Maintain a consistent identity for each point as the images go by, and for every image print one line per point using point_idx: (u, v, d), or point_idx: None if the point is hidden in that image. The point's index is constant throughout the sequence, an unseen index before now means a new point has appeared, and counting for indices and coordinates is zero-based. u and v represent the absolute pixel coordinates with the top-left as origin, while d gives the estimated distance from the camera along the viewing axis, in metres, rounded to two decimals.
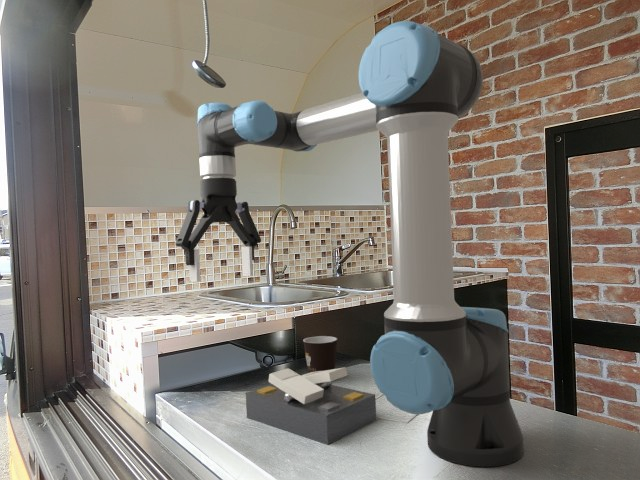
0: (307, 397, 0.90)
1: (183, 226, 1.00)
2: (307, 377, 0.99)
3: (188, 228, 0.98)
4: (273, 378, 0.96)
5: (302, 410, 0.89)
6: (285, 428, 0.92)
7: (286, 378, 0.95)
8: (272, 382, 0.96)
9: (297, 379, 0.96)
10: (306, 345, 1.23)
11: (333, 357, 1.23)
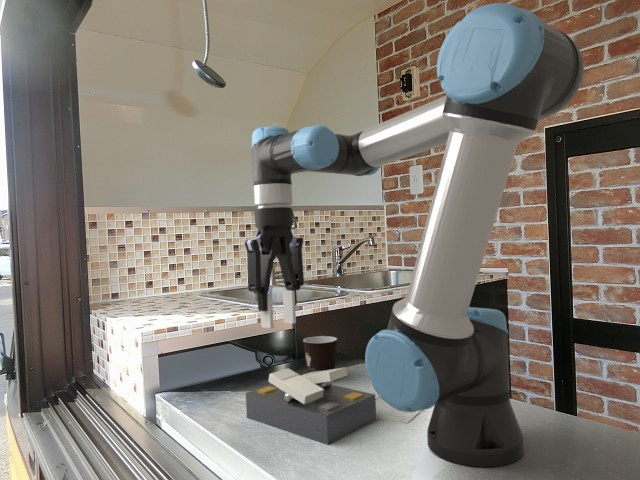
0: (307, 397, 0.90)
1: (249, 269, 0.94)
2: (307, 377, 0.99)
3: (256, 272, 0.93)
4: (273, 378, 0.96)
5: (302, 410, 0.89)
6: (285, 428, 0.92)
7: (286, 378, 0.95)
8: (272, 382, 0.96)
9: (297, 379, 0.96)
10: (306, 345, 1.23)
11: (333, 357, 1.23)
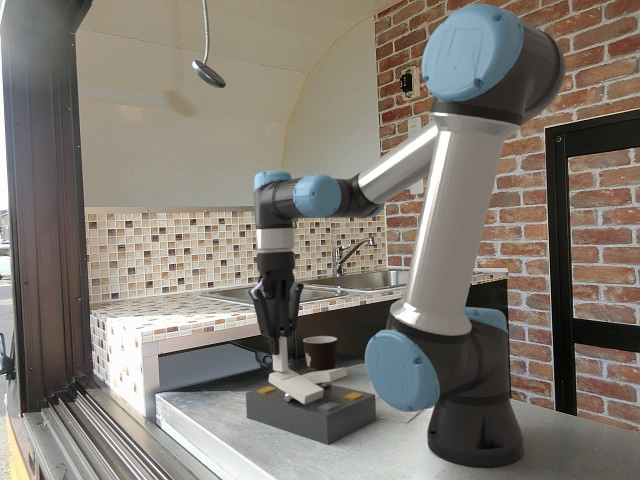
0: (307, 397, 0.90)
1: (258, 316, 0.95)
2: (307, 377, 0.99)
3: (266, 319, 0.94)
4: (273, 378, 0.96)
5: (302, 410, 0.89)
6: (285, 428, 0.92)
7: (286, 378, 0.95)
8: (272, 382, 0.96)
9: (297, 379, 0.96)
10: (306, 345, 1.23)
11: (333, 357, 1.23)
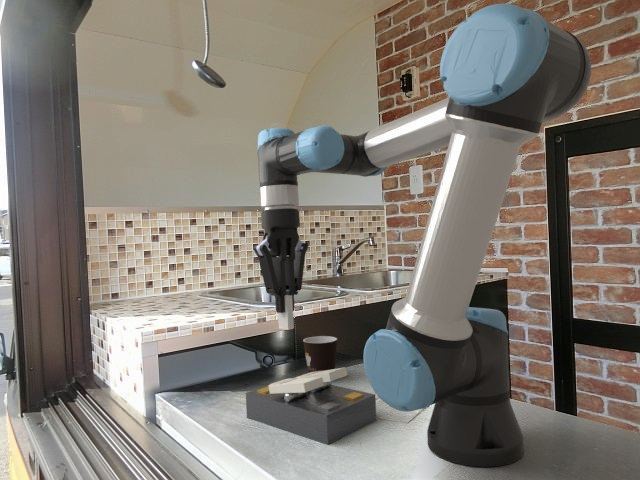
0: (306, 384, 0.90)
1: (263, 274, 0.95)
2: (307, 377, 0.99)
3: (271, 276, 0.94)
4: (272, 387, 0.96)
5: (302, 410, 0.89)
6: (285, 428, 0.92)
7: (285, 382, 0.96)
8: (273, 391, 0.96)
9: (296, 380, 0.96)
10: (306, 345, 1.23)
11: (333, 357, 1.23)
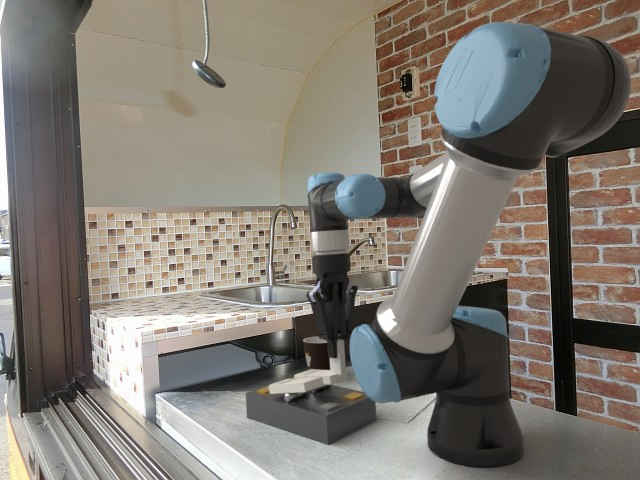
0: (306, 384, 0.90)
1: (316, 319, 0.94)
2: (307, 376, 0.99)
3: (325, 322, 0.93)
4: (272, 387, 0.96)
5: (302, 410, 0.89)
6: (285, 428, 0.92)
7: (285, 382, 0.96)
8: (273, 391, 0.96)
9: (296, 380, 0.96)
10: (306, 345, 1.23)
11: None
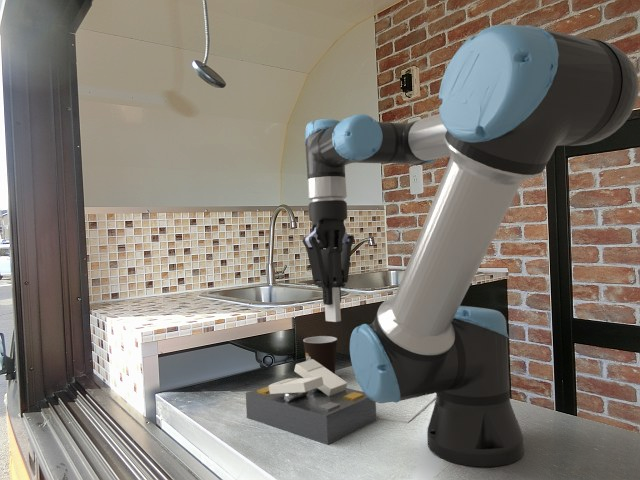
0: (306, 384, 0.90)
1: (311, 265, 0.95)
2: (308, 374, 0.99)
3: (320, 268, 0.93)
4: (272, 387, 0.96)
5: (302, 410, 0.89)
6: (285, 428, 0.92)
7: (285, 382, 0.96)
8: (273, 391, 0.96)
9: (296, 380, 0.96)
10: (306, 345, 1.23)
11: (333, 357, 1.23)
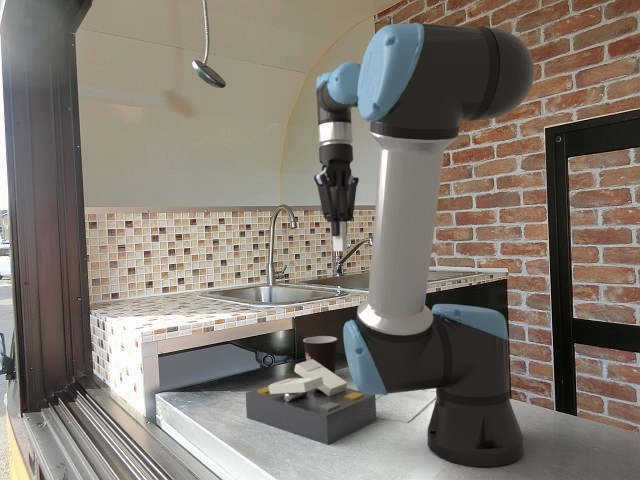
0: (306, 384, 0.90)
1: (321, 201, 1.08)
2: (308, 374, 0.99)
3: (329, 202, 1.07)
4: (272, 387, 0.96)
5: (302, 410, 0.89)
6: (285, 428, 0.92)
7: (285, 382, 0.96)
8: (273, 391, 0.96)
9: (296, 380, 0.96)
10: (306, 345, 1.23)
11: (333, 357, 1.23)
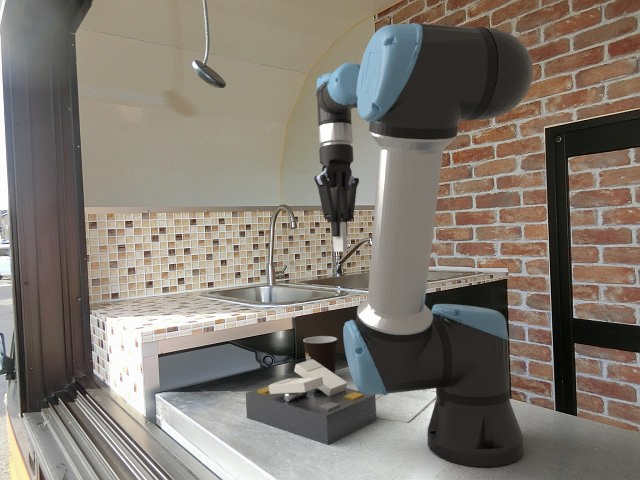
0: (306, 384, 0.90)
1: (322, 201, 1.08)
2: (308, 374, 0.99)
3: (330, 202, 1.07)
4: (272, 387, 0.96)
5: (302, 410, 0.89)
6: (285, 428, 0.92)
7: (285, 382, 0.96)
8: (273, 391, 0.96)
9: (296, 380, 0.96)
10: (306, 345, 1.23)
11: (333, 357, 1.23)
